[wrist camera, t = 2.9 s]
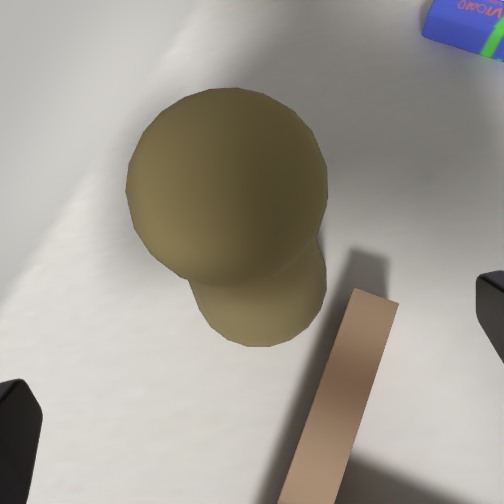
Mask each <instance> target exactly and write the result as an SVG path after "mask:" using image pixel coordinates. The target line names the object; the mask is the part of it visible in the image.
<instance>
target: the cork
mask: <svg viewBox="0 0 504 504" xmlns="http://www.w3.org/2000/svg"><path fill="white" fill-rule="evenodd" d="M125 192H126V196H127V200H128V205H129V209H130V214H131V218H132V222H133V225H134V229H135V230H136V232H137V234H138V235H139V237H140V238H141V240H142V241H143V243H144V244H145V246H146V247H147V249H148V250H149V252H150V253H151V254H152V255H153V256H154V257H155V258H156V259H157V260H158V261H160V262H161V263H162V264H164V265H165V266H166V267H168V268H169V269H170V270H172V271H173V272H174V273H176V274H177V275H178V276H180V277H181V278H184V279H187V280H188V281H189V284H190V286H191V289H192V292H193V294H194V297H195V300H196V302H197V305H198V307H199V310H200V311H201V313H202V314H203V316H204V317H205V319H206V320H207V322H208V323H209V325H210V326H211V327H212V328H213V329H214V330H216V331H217V332H218V333H219V334H221V335H222V336H223V337H225V338H226V339H227V340H230V341H233V342H236V343H239V344H241V345H244V346H247V347H270V346H274V345H277V344H280V343H283V342H286V341H289V340H291V339H293V338H294V337H295V336H297V335H298V334H299V333H301V332H302V331H304V330H305V329H306V328H308V327H309V325H310V324H311V322H312V321H313V320H314V318H315V317H316V316H317V314H318V313H319V311H320V310H321V307H322V304H323V300H324V297H325V294H326V291H327V282H326V267H325V264H324V261H323V258H322V255H321V251H320V248H319V245H318V242H317V239H316V235H317V233H318V230H319V227H320V224H321V221H322V218H323V215H324V212H325V209H326V205H327V199H328V185H327V166H326V164H325V161H324V159H323V156H322V154H321V151H320V149H319V146H318V144H317V142H316V139H315V137H314V135H313V132H312V131H311V130H310V128H309V127H308V126H307V125H306V124H305V123H304V122H303V121H302V120H301V118H300V117H299V116H298V115H297V114H296V113H295V112H294V111H293V110H291V109H290V108H288V107H286V106H284V105H283V104H281V103H279V102H277V101H276V100H274V99H272V98H270V97H269V96H267V95H265V94H263V93H258V92H254V91H249V90H245V89H240V88H221V89H209V90H205V91H202V92H199V93H196V94H193V95H190V96H187V97H184V98H182V99H181V100H179V101H178V102H176V103H175V104H173V105H171V106H170V107H168V108H167V109H165V110H164V111H162V112H161V113H160V114H159V115H158V116H157V117H156V118H155V120H154V121H153V122H152V123H151V124H150V125H149V126H148V127H147V129H146V130H145V131H144V132H143V134H142V136H141V138H140V141H139V143H138V145H137V147H136V149H135V151H134V153H133V156H132V158H131V160H130V162H129V166H128V174H127V183H126V191H125Z"/></svg>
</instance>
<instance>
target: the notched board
mask: <svg viewBox="0 0 504 504" xmlns="http://www.w3.org/2000/svg"><path fill="white" fill-rule="evenodd" d="M398 305H399V303H396V302H393V301H391V300H388V299H385V298H382V297H379V296H377V295H374V294H371V293H368V292H366V291H363V290H360V289H357V288H354V289H353V292H352V294H351V296H350V299H349V301H348V304H347V307H346V309H345V312H344V315H343V318H342V321H341V324H340V326H339V329H338V332H337V335H336V338H335V340H334V343H333V346H332V349H331V352H330V355H329V357H328V360H327V363H326V366H325V369H324V371H323V374H322V377H321V380H320V383H319V386H318V388H317V391H316V394H315V397H314V400H313V402H312V405H311V408H310V411H309V414H308V417H307V419H306V422H305V425H304V428H303V431H302V433H301V436H300V439H299V442H298V445H297V448H296V450H295V453H294V456H293V459H292V462H291V464H290V467H289V470H288V473H287V476H286V479H285V481H284V484H283V487H282V490H281V493H280V495H279V498H278V501H277V504H334V502H335V499H336V496H337V493H338V490H339V487H340V484H341V481H342V478H343V475H344V472H345V469H346V465H347V462H348V459H349V456H350V453H351V450H352V447H353V444H354V441H355V438H356V435H357V431H358V428H359V425H360V422H361V419H362V416H363V413H364V410H365V407H366V404H367V401H368V398H369V394H370V391H371V388H372V385H373V382H374V379H375V376H376V373H377V370H378V367H379V364H380V361H381V357H382V354H383V351H384V348H385V345H386V342H387V339H388V336H389V333H390V330H391V327H392V323H393V320H394V317H395V314H396V311H397V308H398Z"/></svg>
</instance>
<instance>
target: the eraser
mask: <svg viewBox="0 0 504 504" xmlns="http://www.w3.org/2000/svg"><path fill="white" fill-rule="evenodd" d="M422 35H423V36H424V37H426V38H429V39H432V40H435V41H438V42H442V43H445V44H448V45H451V46H454V47H458V48H461V49H464V50H467V51H470V52H473V53H477V54H480V55H483V56H486V57H489V58H493V59H496V60H499V61H503V62H504V1H501V0H434V2H433V4H432V6H431V8H430V10H429V13H428V16H427V19H426V23H425V26H424V29H423V33H422Z"/></svg>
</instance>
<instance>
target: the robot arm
mask: <svg viewBox="0 0 504 504" xmlns="http://www.w3.org/2000/svg"><path fill="white" fill-rule="evenodd" d="M476 315H477V318H478V321H479V323H480V325H481V326H482V328H483V330H484V331H485V333H486V335H487V336H488V338H489V340H490V342H491V343H492V345H493V347H494V348H495V350H496V352H497V353H498V355H499V357H500V358H501V360H502V362H503V363H504V271H501V270H498V271H493V272H489V273H484V274H480V275H479V276H478V277H477V279H476ZM42 420H43V414H42V410H41V407H40V405H39V403H38V402H37V400H36V398H35V397H34V395H33V393H32V391H31V390H30V388H29V386H28V384H27V383H26V382H25V381H24V380H23V379H14V380H9V381H5V382H1V383H0V504H26V502H27V499H28V495H29V490H30V486H31V481H32V475H33V470H34V464H35V459H36V454H37V448H38V443H39V437H40V432H41V426H42Z"/></svg>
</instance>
